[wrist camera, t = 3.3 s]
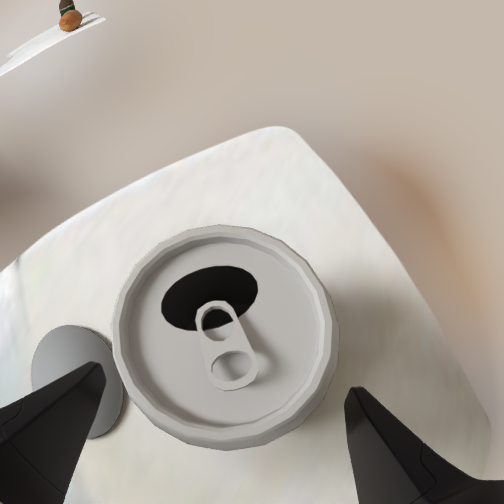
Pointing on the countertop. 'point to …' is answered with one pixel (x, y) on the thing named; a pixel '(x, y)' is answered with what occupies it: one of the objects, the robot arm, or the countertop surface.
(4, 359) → the countertop surface
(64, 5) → the beer bottle
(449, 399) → the countertop surface
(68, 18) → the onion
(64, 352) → the mat
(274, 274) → the can
